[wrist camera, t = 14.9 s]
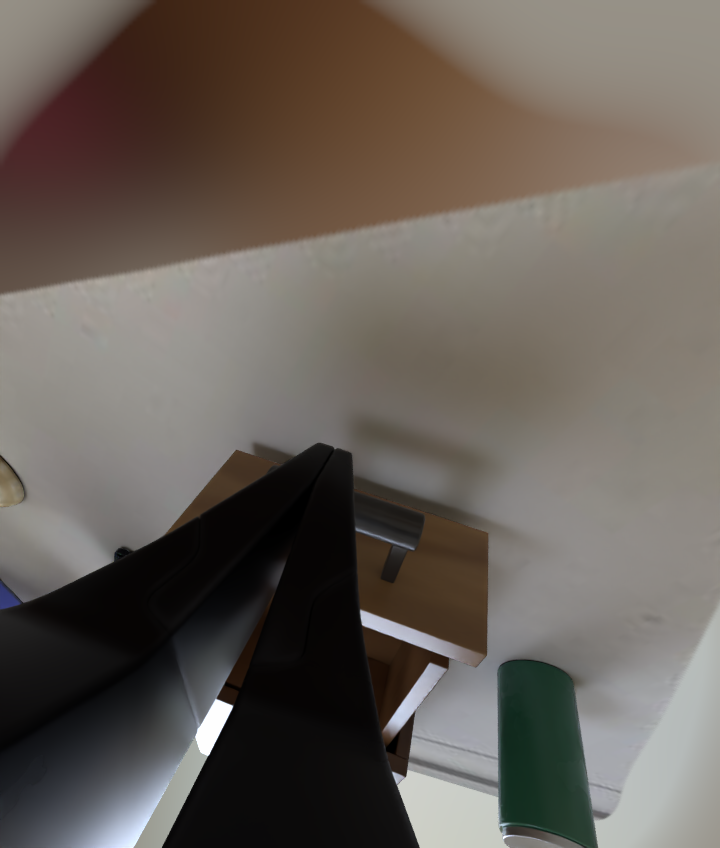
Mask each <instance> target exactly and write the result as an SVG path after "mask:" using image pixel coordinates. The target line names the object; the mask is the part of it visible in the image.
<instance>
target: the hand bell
mask: <svg viewBox="0 0 720 848" xmlns="http://www.w3.org/2000/svg"><path fill="white" fill-rule="evenodd" d="M23 498H24V489H23V486H22V484H21V482H20V481H19V479H18V477H17V476H16V475H15V474H14V472H13V470H12V469H11V468H10V467H9V466H8V464H7V463H6V462H5V461H4V460H3V459H2V458H1V457H0V507H9V506H13V505H17V504H19V503H20V502H21V501H22V500H23Z"/></svg>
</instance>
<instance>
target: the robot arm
mask: <svg viewBox="0 0 720 848" xmlns="http://www.w3.org/2000/svg"><path fill="white" fill-rule="evenodd" d="M357 571H358V569H357V548H356V526H355V505H354V483H353V462H352V453H351V452H348V451H345V450H342V449H339V448H337V449H334V447H332V446H329V445H326V444H323V443H317V444H315V445H313V446H312V447H310V448H308V449H307V450H305V451H303V452H302V453H300V454H298V455H297V456H295V457H294V458H292V459H290V460H289V461H287V462H285V463H284V464H282V465H280V466H279V467H277V468H276V469H274V470H272V471H271V472H269V473H267V474H266V475H264V476H262V477H261V478H259V479H257V480H256V481H254V482H253V483H251V484H249V485H248V486H246V487H244V488H243V489H241V490H239V491H238V492H236V493H235V494H233V495H231V496H230V497H228V498H226V499H225V500H223V501H221V502H220V503H218V504H216V505H215V506H213V507H212V508H210V509H208V510H207V511H205V512H203V513H202V514H200V518H199V517H198V516H197V517H195V518H193V519H192V520H190V521H188V522H187V523H185V524H183V525H182V526H180V527H178V528H177V529H175V530H173V531H171V532H170V533H168V534H166V535H164V536H163V537H161V538H159V539H158V540H156V541H154V542H152V543H150V544H148V545H146V546H144V547H142V548H140V549H138V550H136V551H134V552H132V553H130V552H128V551H126V550H124V549H122V548H119V549H118V550H117V551H116V552H115V555H114V562H112V563H110V564H108V565H106V566H104V567H102V568H100V569H98V570H96V571H94V572H92V573H90V574H88V575H86V576H84V577H82V578H80V579H78V580H76V581H74V582H72V583H70V584H68V585H66V586H64V587H62V588H59V589H57V590H55V591H53V592H51V593H49V594H46V595H44V596H42V597H39V598H37V599H34V600H31V601H28V602H25V603H22V604H19V605H16V606H12V607H8V608H5V609H0V848H133V847H134V845H135V844H136V842H137V840H138V838H139V836H140V835H141V833H142V831H143V829H144V827H145V825H146V824H147V822H148V820H149V818H150V817H151V815H152V813H153V811H154V809H155V808H156V806H157V804H158V802H159V800H160V798H161V797H162V795H163V793H164V791H165V790H166V788H167V786H168V784H169V782H170V780H171V779H172V777H173V775H174V773H175V772H176V770H177V768H178V766H179V764H180V762H181V761H182V759H183V757H184V755H185V754H186V752H187V750H188V748H189V746H190V745H191V743H192V741H193V739H194V737H195V736H196V734H197V732H198V729H199V728H200V726H201V725H202V723H203V721H204V719H205V717H206V716H207V714H208V712H209V710H210V708H211V707H212V705H213V703H214V701H215V699H216V698H217V696H218V694H219V692H220V690H221V689H222V687H223V685H224V683H225V681H226V680H227V678H228V676H229V674H230V672H231V671H232V669H233V667H234V665H235V663H236V662H237V660H238V658H239V656H240V654H241V653H242V651H243V649H244V647H245V645H246V644H247V642H248V640H249V638H250V636H251V635H252V633H253V631H254V629H255V627H256V626H257V624H258V622H259V620H260V618H261V617H262V615H263V613H264V611H265V609H266V608H267V606H268V604H269V602H270V600H271V599H272V597H273V595H274V597H273V600H272V602H271V605H270V608H269V611H268V614H267V616H266V619H265V622H264V625H263V628H262V630H261V633H260V636H259V639H258V642H257V644H256V647H255V650H254V653H253V656H252V658H251V661H250V664H249V668H248V670H247V673H246V675H245V678H244V681H243V683H242V686H241V689H240V691H239V693H238V696H237V698H236V701H235V703H234V705H233V707H232V710H231V712H230V714H229V716H228V718H227V720H226V722H225V724H224V726H223V728H222V730H221V732H220V734H219V736H218V737H217V739H216V741H215V743H214V745H213V747H212V749H211V751H210V753H209V755H208V757H207V759H206V761H205V763H204V765H203V767H202V769H201V771H200V773H199V775H198V777H197V779H196V781H195V783H194V785H193V787H192V789H191V791H190V793H189V795H188V797H187V799H186V801H185V803H184V805H183V807H182V809H181V811H180V813H179V815H178V817H177V819H176V821H175V823H174V825H173V827H172V829H171V831H170V833H169V835H168V837H167V838H166V841H165V842H164V844H163V846H162V848H420V847H419V844H418V842H417V839H416V836H415V833H414V831H413V828H412V825H411V823H410V820H409V817H408V814H407V812H406V809H405V806H404V803H403V801H402V798H401V795H400V792H399V790H398V787H397V784H396V781H395V779H394V776H393V773H392V770H391V767H390V764H389V760H388V757H387V753H386V749H385V745H384V741H383V736H382V732H381V727H380V723H379V718H378V713H377V707H376V702H375V696H374V691H373V685H372V680H371V675H370V669H369V664H368V658H367V653H366V647H365V641H364V635H363V628H362V621H361V613H360V601H359V587H358V574H357ZM274 593H275V594H274Z"/></svg>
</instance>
